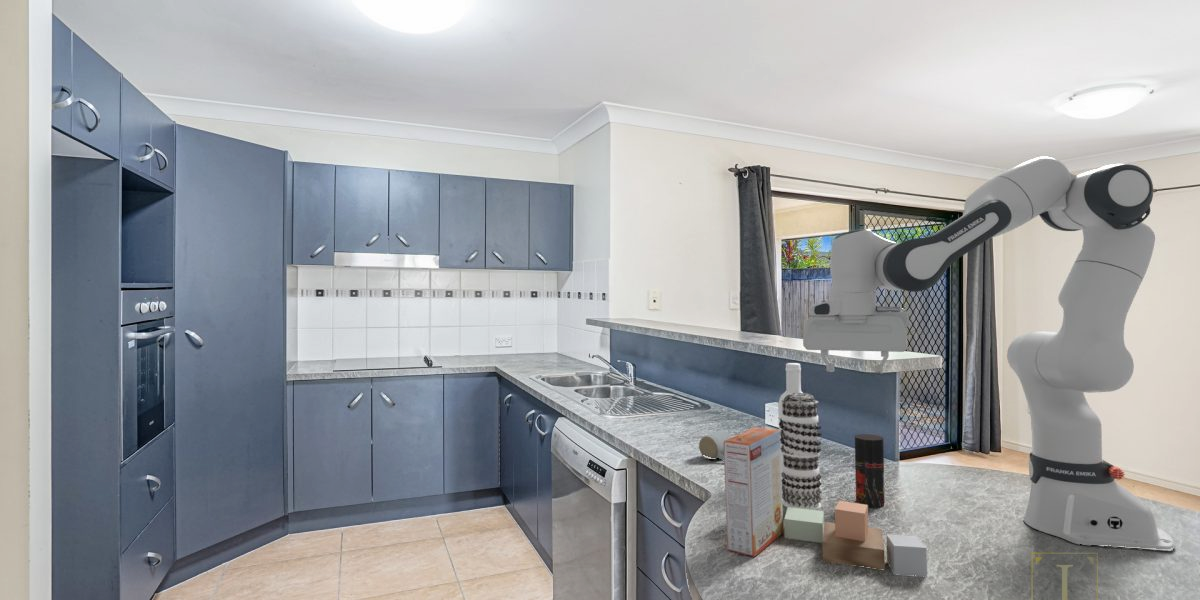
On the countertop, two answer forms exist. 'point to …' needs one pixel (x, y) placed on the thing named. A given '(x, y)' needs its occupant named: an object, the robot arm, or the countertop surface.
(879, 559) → the walnut block
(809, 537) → the sage block
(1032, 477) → the robot arm
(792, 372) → the bottle
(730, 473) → the cracker box
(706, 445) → the ceramic mug
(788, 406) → the decorative candle
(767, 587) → the countertop surface
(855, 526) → the terracotta cube
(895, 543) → the grey cube
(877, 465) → the deodorant
